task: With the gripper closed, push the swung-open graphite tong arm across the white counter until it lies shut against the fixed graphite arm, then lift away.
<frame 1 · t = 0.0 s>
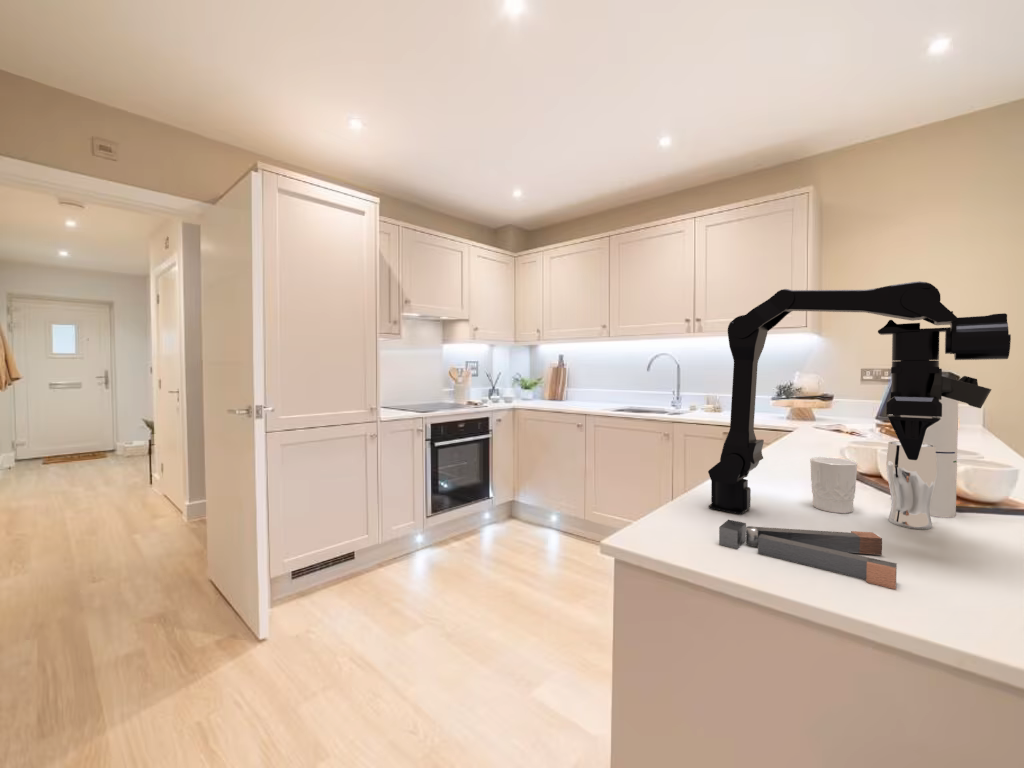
hand: (913, 455, 73), 15 cm above the counter, fingers open, 9 cm apart
tong arm: (809, 539, 72), point 2 cm above the counter, hinge at 30.0°
cylindrical container: (930, 512, 89), on the counter
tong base: (752, 545, 73), on the counter
white cup: (832, 509, 92), on the counter
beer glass: (909, 525, 83), on the counter
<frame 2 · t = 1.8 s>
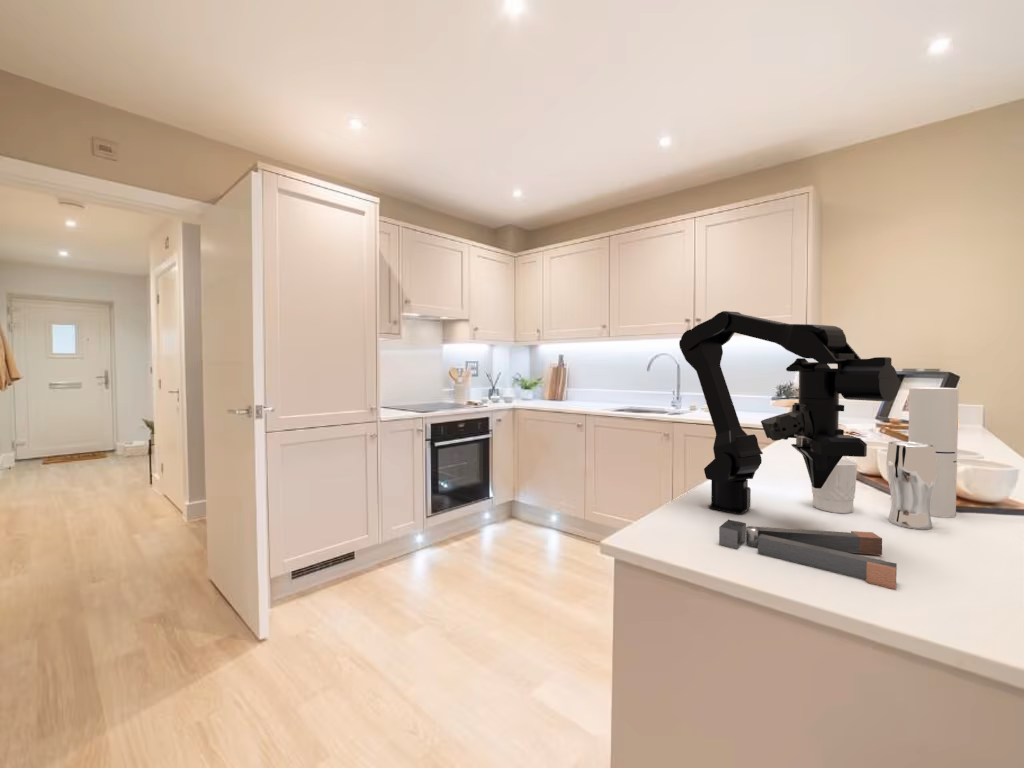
hand: (816, 487, 77), 8 cm above the counter, fingers closed
nothing on the counter moved.
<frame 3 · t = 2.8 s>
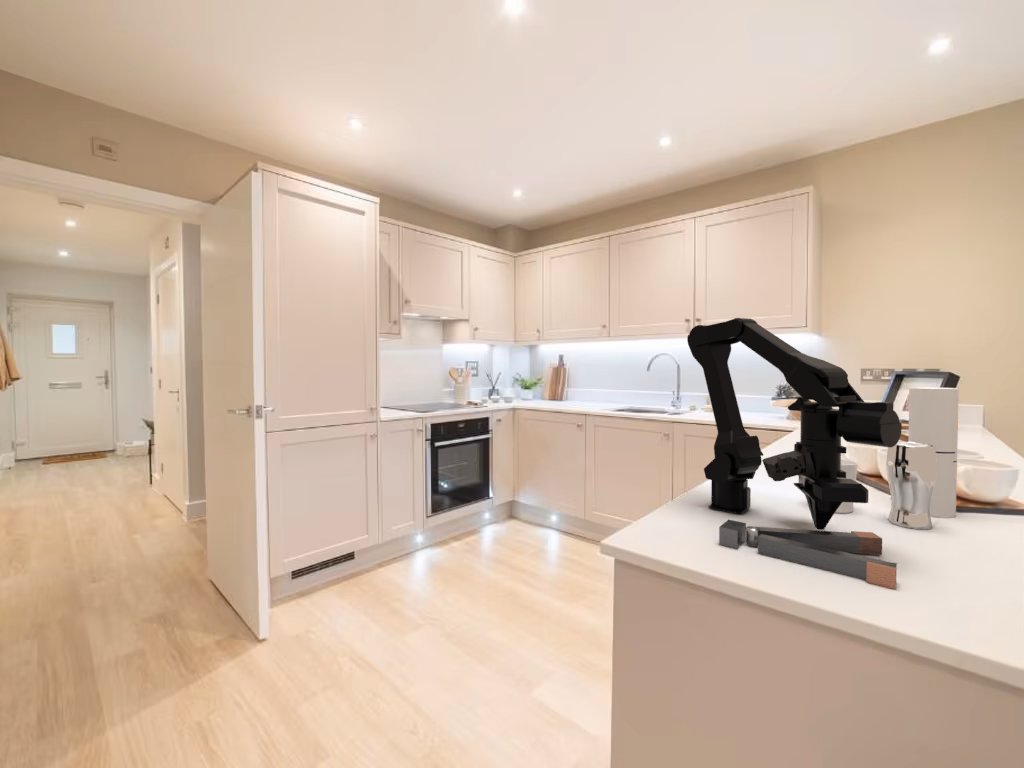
hand: (819, 528, 76), 2 cm above the counter, fingers closed
nothing on the counter moved.
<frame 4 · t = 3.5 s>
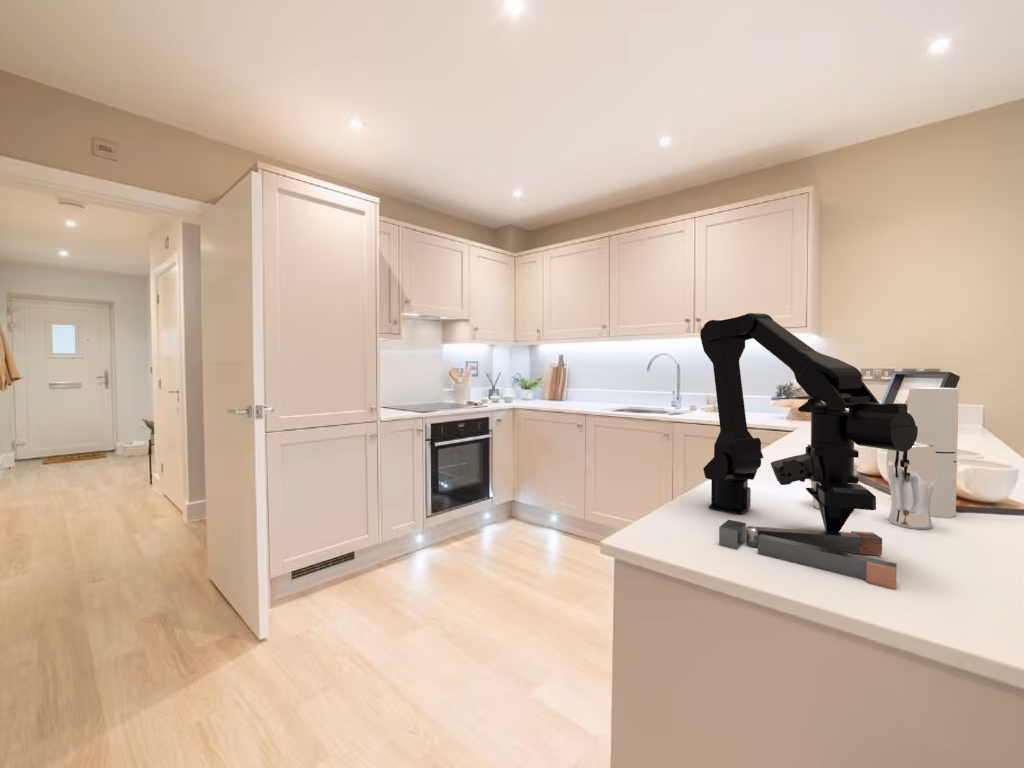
hand: (831, 536, 72), 2 cm above the counter, fingers closed
tong arm: (809, 539, 72), point 2 cm above the counter, hinge at 30.0°, touching gripper
everything else where it was.
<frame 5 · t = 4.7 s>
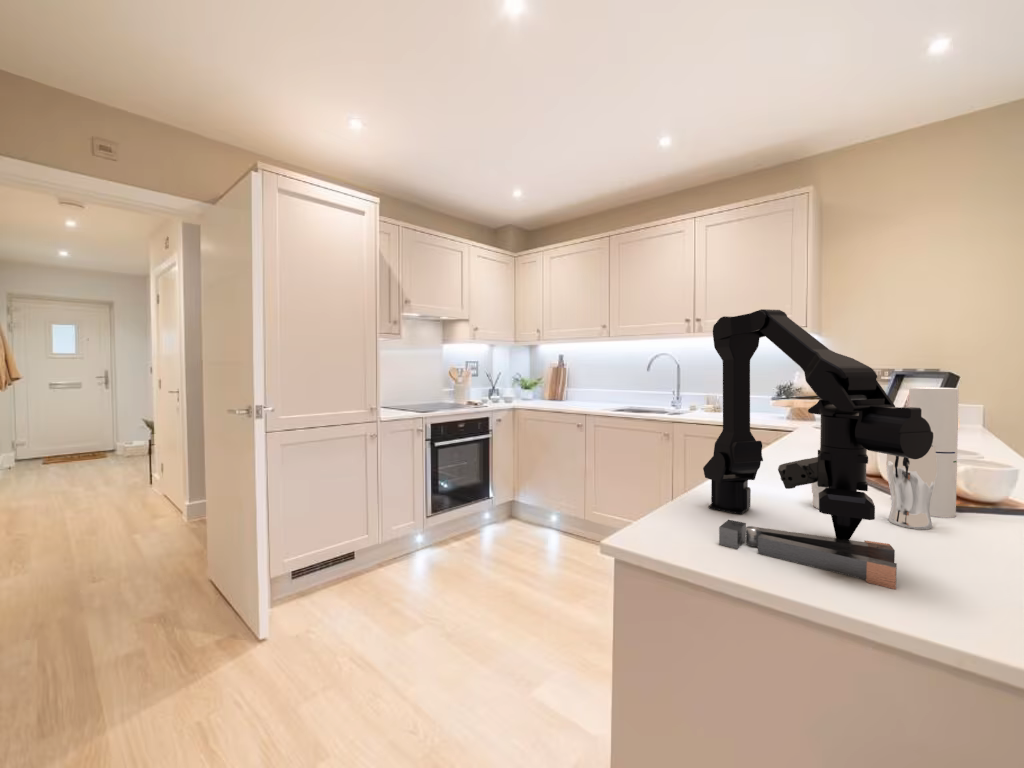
hand: (841, 544, 69), 2 cm above the counter, fingers closed
tong arm: (814, 544, 70), point 2 cm above the counter, hinge at 14.6°, touching gripper
everything else where it was.
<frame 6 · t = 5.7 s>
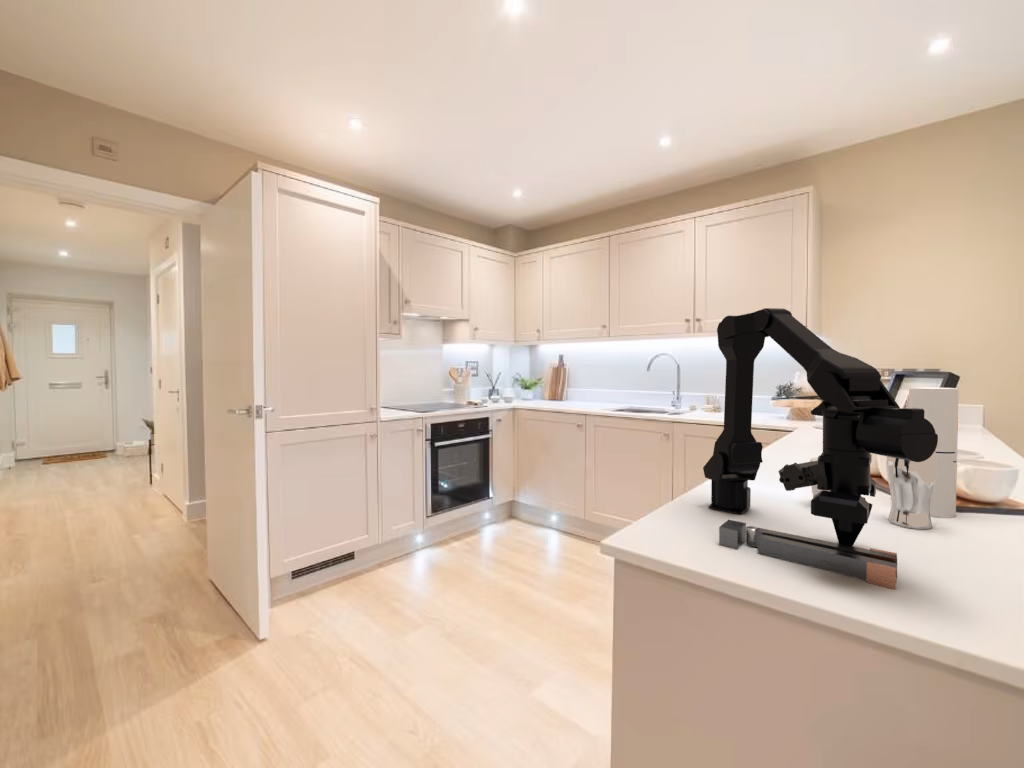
hand: (845, 550, 67), 2 cm above the counter, fingers closed
tong arm: (815, 548, 68), point 2 cm above the counter, hinge at 2.6°, touching gripper
everything else where it was.
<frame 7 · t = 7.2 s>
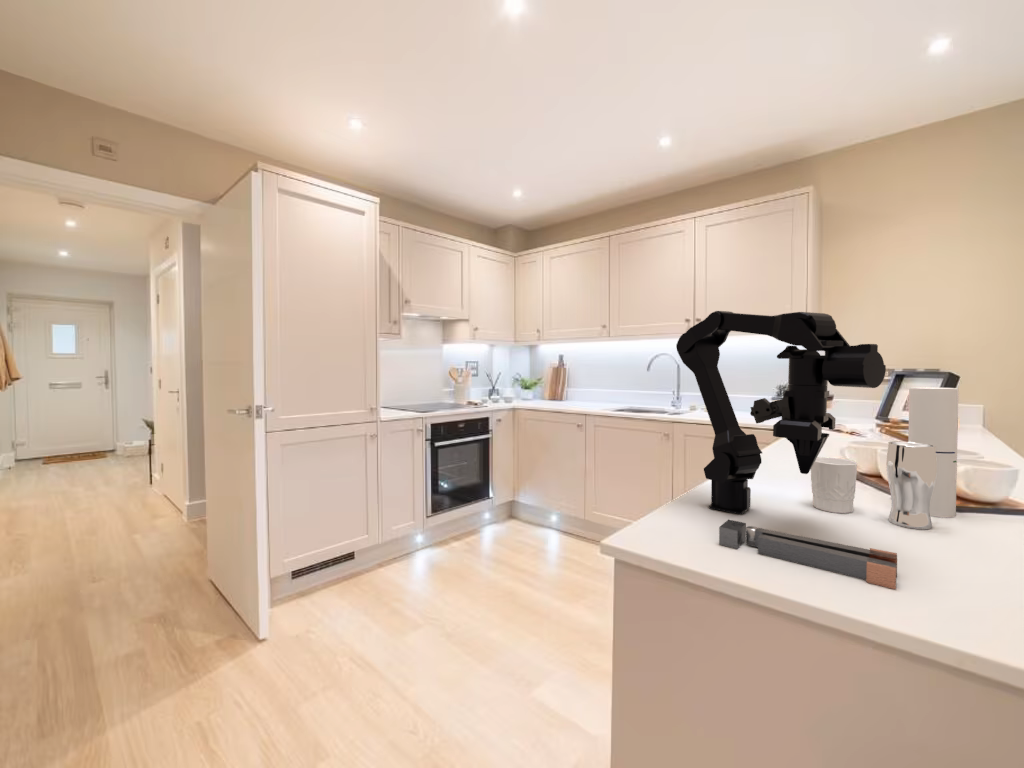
hand: (804, 473, 78), 11 cm above the counter, fingers closed
tong arm: (815, 548, 68), point 2 cm above the counter, hinge at 2.4°
everything else where it was.
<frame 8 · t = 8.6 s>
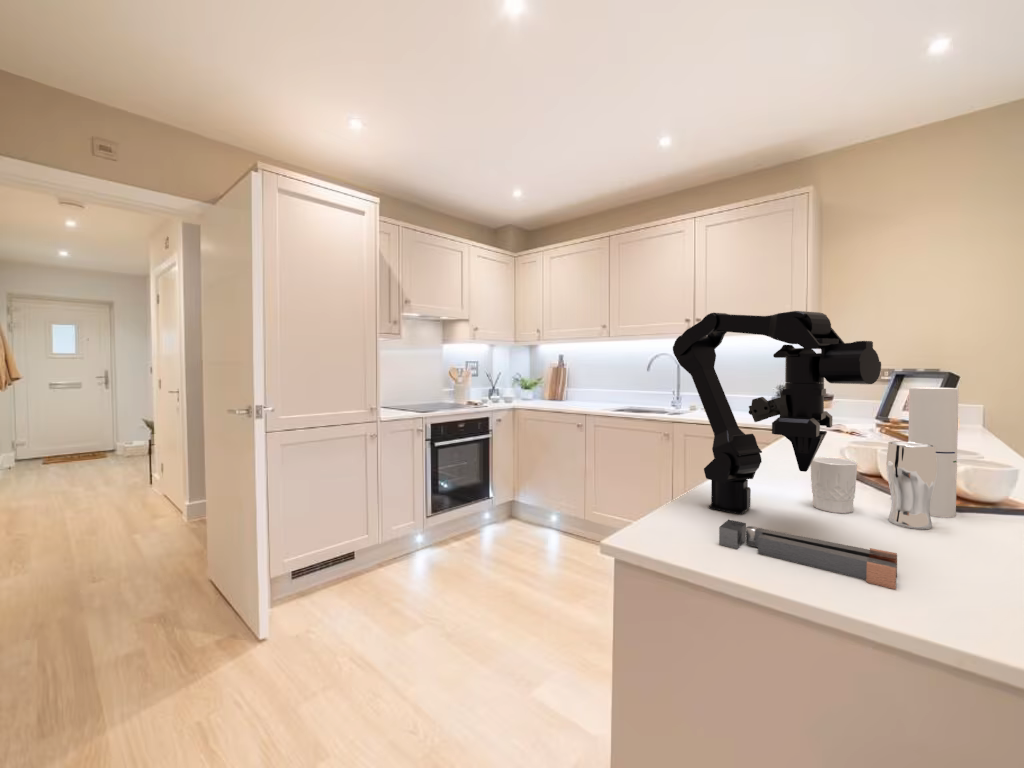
hand: (803, 471, 78), 11 cm above the counter, fingers closed
nothing on the counter moved.
at the end: tong arm at +2° (first picture: +30°) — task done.
